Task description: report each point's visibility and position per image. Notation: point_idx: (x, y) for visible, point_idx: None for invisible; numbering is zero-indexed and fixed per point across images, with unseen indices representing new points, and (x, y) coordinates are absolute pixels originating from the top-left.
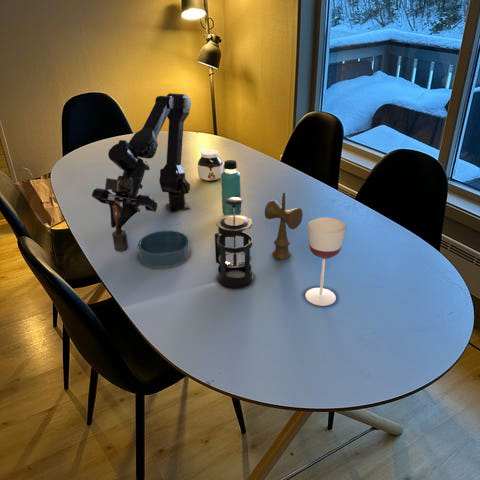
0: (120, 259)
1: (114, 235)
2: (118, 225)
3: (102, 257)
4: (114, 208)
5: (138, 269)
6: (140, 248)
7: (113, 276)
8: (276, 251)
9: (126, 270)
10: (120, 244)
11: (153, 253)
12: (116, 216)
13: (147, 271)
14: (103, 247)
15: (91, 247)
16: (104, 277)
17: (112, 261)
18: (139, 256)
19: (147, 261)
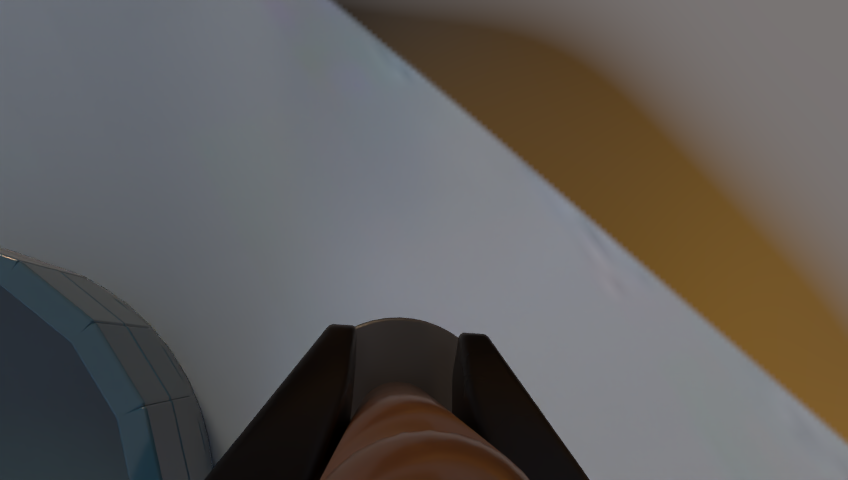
0: (357, 302)
1: (425, 334)
2: (325, 344)
3: (539, 288)
4: (400, 434)
5: (110, 191)
6: (64, 320)
7: (277, 44)
8: None
9: (212, 150)
10: None
11: (50, 472)
12: (371, 410)
13: (13, 183)
14: (642, 462)
15: (752, 426)
16: (343, 15)
17: (411, 250)
18: (141, 328)
19: (8, 250)
